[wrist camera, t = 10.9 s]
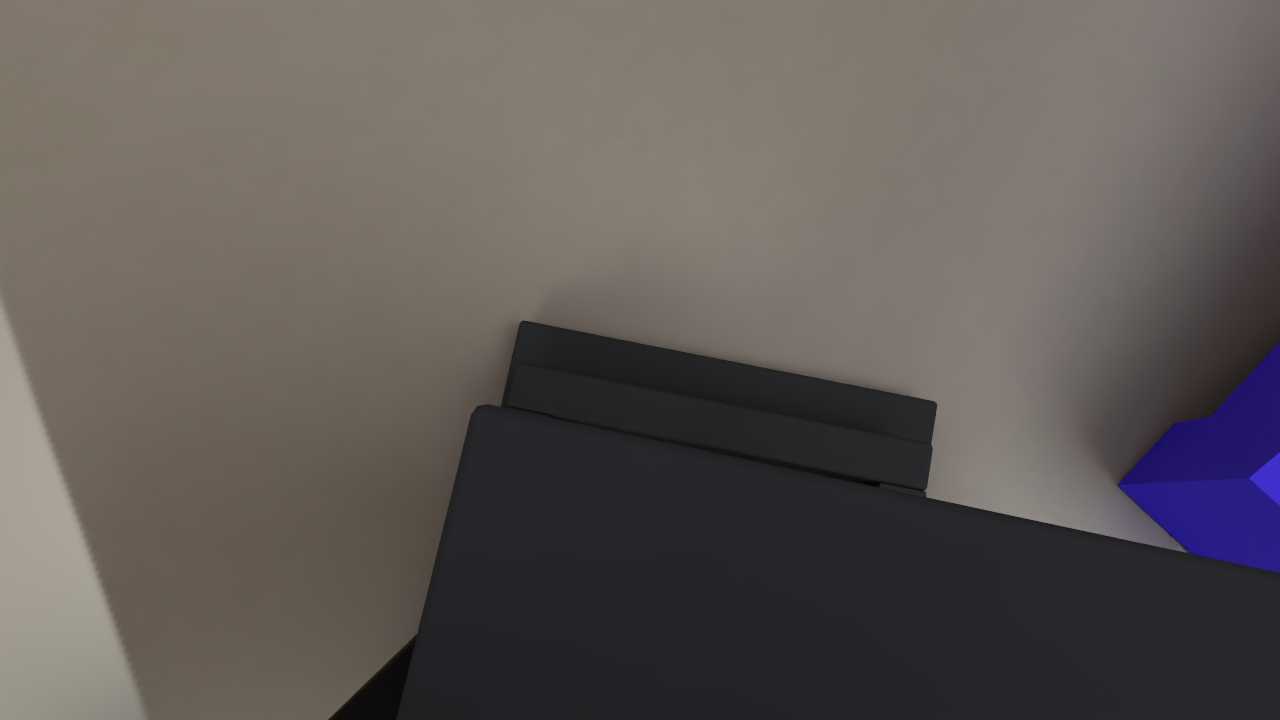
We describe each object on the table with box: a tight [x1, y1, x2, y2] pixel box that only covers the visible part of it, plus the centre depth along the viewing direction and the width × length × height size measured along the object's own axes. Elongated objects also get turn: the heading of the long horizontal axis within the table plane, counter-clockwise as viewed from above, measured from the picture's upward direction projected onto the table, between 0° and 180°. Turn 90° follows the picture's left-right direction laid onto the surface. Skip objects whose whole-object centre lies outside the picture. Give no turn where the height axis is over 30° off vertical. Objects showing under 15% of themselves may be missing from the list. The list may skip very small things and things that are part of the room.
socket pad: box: [501, 321, 937, 497], centre depth 20 cm, size 12×10×3 cm
